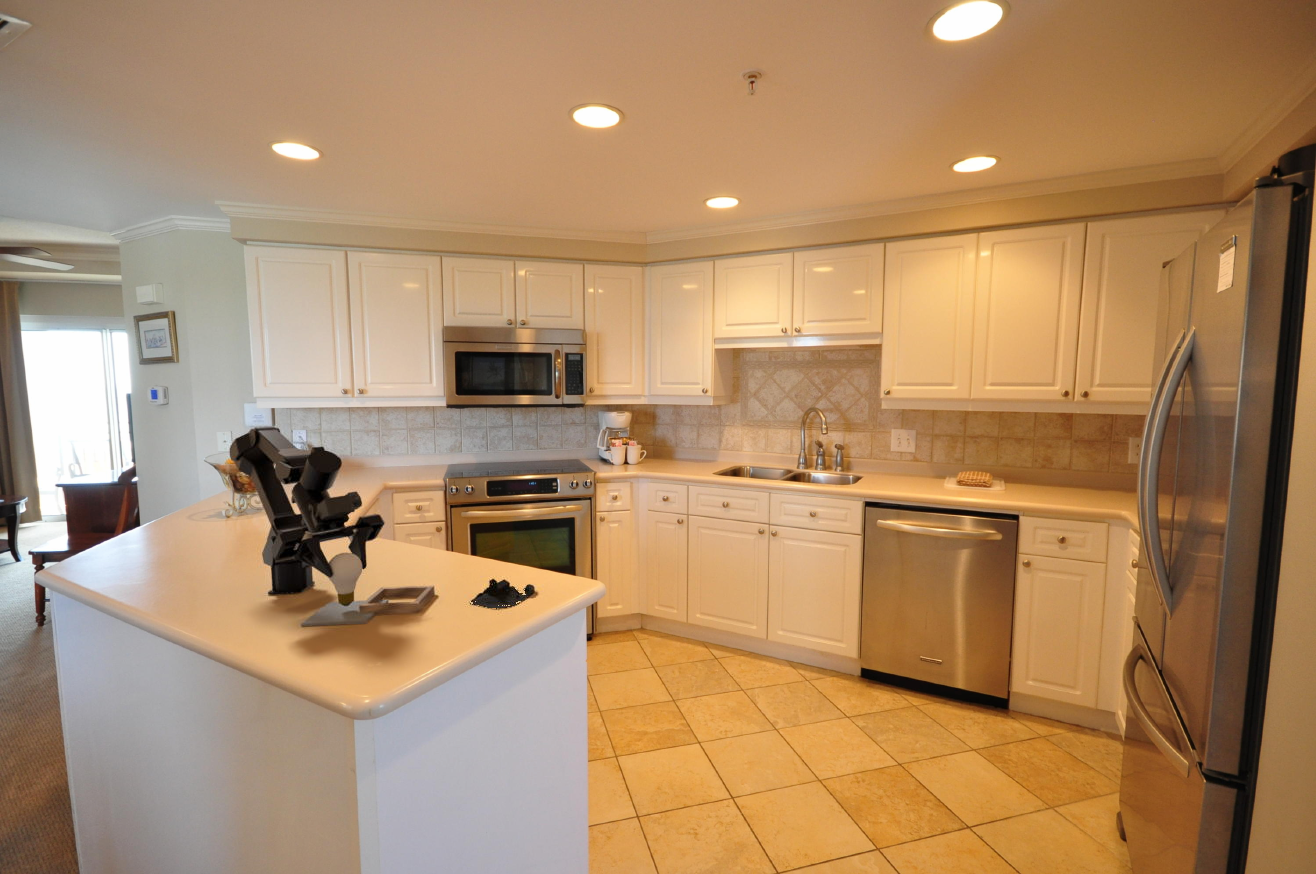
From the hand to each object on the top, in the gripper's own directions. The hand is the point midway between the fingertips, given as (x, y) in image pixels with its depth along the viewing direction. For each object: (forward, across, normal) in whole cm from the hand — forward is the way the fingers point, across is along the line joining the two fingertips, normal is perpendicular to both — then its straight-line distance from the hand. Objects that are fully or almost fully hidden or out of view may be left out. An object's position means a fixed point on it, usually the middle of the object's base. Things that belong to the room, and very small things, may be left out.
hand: (348, 571), depth 110 cm
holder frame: (+7, +8, +4) cm, 12 cm away
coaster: (+5, 0, +6) cm, 8 cm away
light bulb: (+4, 0, +6) cm, 7 cm away
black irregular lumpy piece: (+18, +22, -6) cm, 29 cm away
